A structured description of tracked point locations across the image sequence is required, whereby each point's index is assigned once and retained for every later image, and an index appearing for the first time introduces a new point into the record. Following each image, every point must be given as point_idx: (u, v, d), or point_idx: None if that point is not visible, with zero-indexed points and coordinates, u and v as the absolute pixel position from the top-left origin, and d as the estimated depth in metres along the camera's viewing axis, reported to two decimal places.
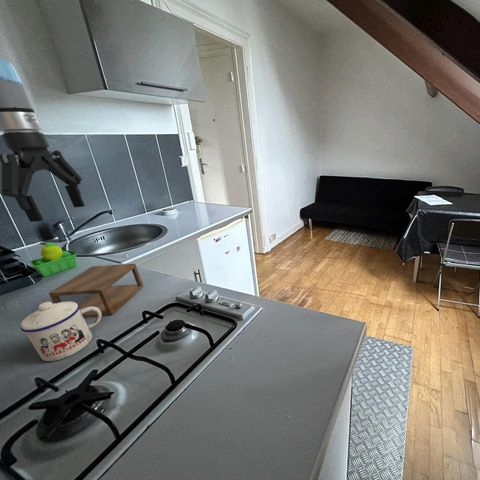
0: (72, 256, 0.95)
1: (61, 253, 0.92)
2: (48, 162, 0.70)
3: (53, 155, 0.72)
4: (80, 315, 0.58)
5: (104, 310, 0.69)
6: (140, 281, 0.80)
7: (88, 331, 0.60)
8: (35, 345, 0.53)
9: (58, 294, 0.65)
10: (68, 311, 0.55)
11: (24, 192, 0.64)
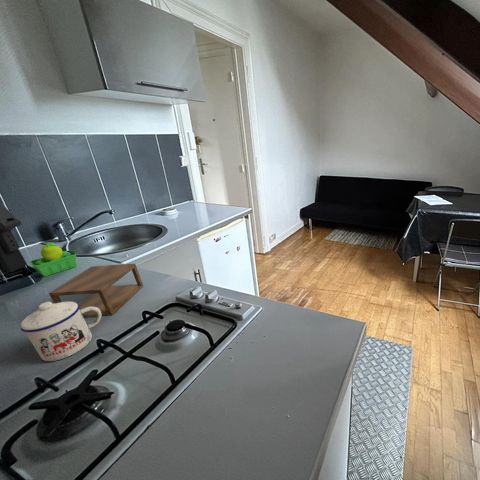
0: (72, 256, 0.95)
1: (61, 253, 0.92)
2: None
3: None
4: (80, 315, 0.58)
5: (104, 310, 0.69)
6: (140, 281, 0.80)
7: (88, 331, 0.60)
8: (35, 345, 0.53)
9: (58, 294, 0.65)
10: (68, 311, 0.55)
11: None
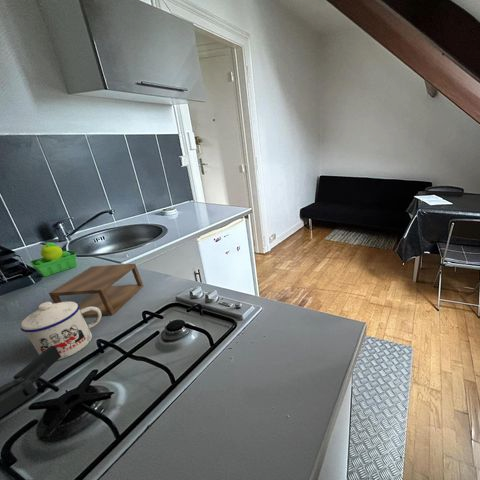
0: (72, 256, 0.95)
1: (61, 253, 0.92)
2: None
3: None
4: (80, 315, 0.58)
5: (104, 310, 0.69)
6: (140, 281, 0.80)
7: (88, 331, 0.60)
8: (35, 345, 0.53)
9: (58, 294, 0.65)
10: (68, 311, 0.55)
11: (13, 382, 0.41)
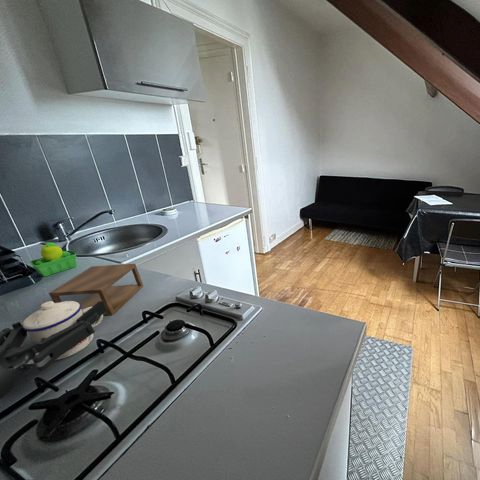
0: (72, 256, 0.95)
1: (61, 253, 0.92)
2: (1, 351, 0.47)
3: None
4: None
5: None
6: (140, 281, 0.80)
7: None
8: None
9: (58, 294, 0.65)
10: (69, 311, 0.55)
11: (77, 323, 0.54)
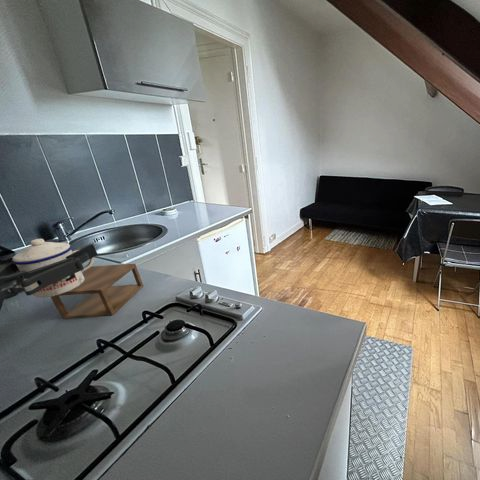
0: None
1: None
2: None
3: None
4: None
5: (104, 310, 0.69)
6: (140, 281, 0.80)
7: (80, 273, 0.60)
8: None
9: None
10: (59, 249, 0.55)
11: (67, 259, 0.54)
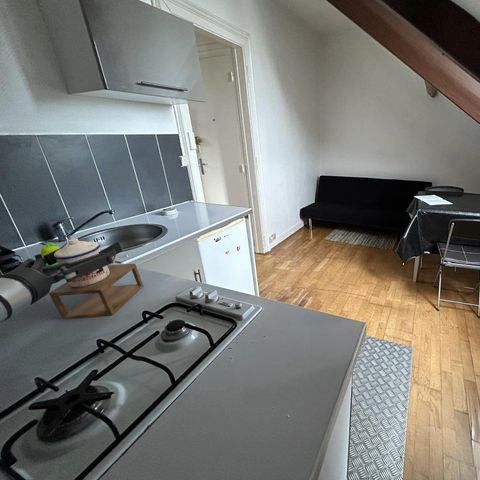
0: None
1: None
2: (38, 267, 0.59)
3: None
4: None
5: (104, 310, 0.69)
6: (140, 281, 0.80)
7: (106, 267, 0.72)
8: None
9: (58, 294, 0.65)
10: (91, 246, 0.67)
11: (99, 254, 0.64)
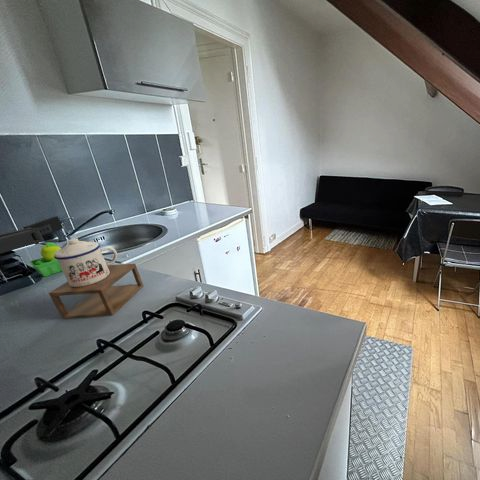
0: None
1: None
2: None
3: None
4: (100, 252, 0.70)
5: (104, 310, 0.69)
6: (140, 281, 0.80)
7: (106, 267, 0.72)
8: (65, 272, 0.65)
9: (58, 294, 0.65)
10: (91, 246, 0.67)
11: (23, 229, 0.48)
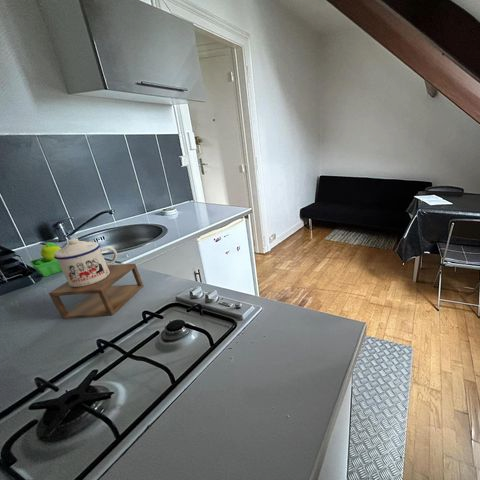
0: None
1: None
2: None
3: None
4: (100, 252, 0.70)
5: (104, 310, 0.69)
6: (140, 281, 0.80)
7: (106, 267, 0.72)
8: (65, 272, 0.65)
9: (58, 294, 0.65)
10: (91, 246, 0.67)
11: None
